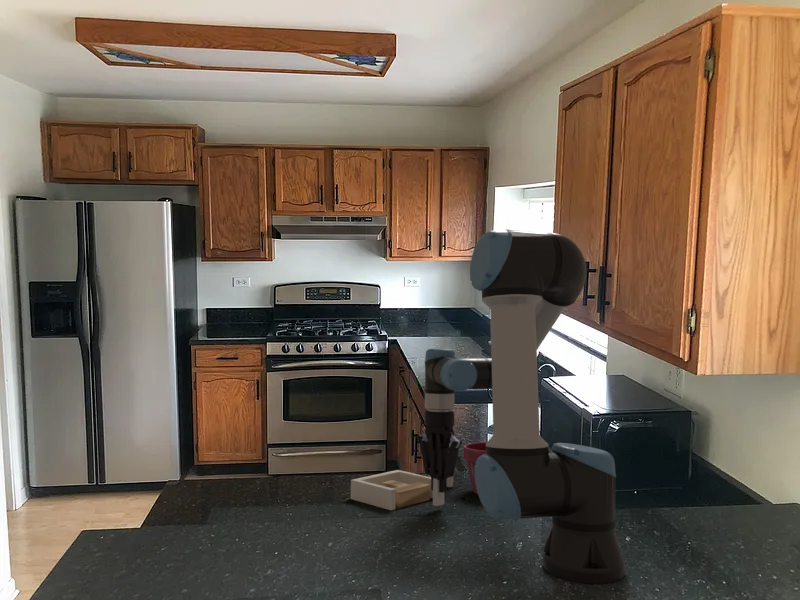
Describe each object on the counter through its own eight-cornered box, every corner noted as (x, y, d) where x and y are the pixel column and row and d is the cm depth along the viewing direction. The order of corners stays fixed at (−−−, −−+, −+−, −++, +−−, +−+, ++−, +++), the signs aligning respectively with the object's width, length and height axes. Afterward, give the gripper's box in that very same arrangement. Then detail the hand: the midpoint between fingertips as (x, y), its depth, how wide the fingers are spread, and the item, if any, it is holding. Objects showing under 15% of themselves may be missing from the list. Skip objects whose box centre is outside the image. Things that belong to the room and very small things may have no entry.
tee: (429, 499, 173) (430, 484, 173) (398, 508, 164) (399, 492, 164) (402, 492, 180) (402, 477, 180) (371, 500, 171) (371, 484, 171)
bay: (437, 497, 175) (438, 478, 175) (391, 510, 162) (391, 490, 162) (397, 487, 185) (397, 469, 185) (350, 498, 172) (350, 479, 172)
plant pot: (455, 494, 178) (456, 447, 179) (472, 483, 191) (473, 440, 191) (506, 501, 172) (507, 452, 173) (520, 489, 185) (520, 444, 185)
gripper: (469, 411, 162) (468, 506, 161) (429, 406, 171) (428, 497, 170) (450, 413, 157) (449, 512, 155) (410, 408, 166) (409, 502, 164)
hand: (438, 504), depth 163 cm, fingers closed
